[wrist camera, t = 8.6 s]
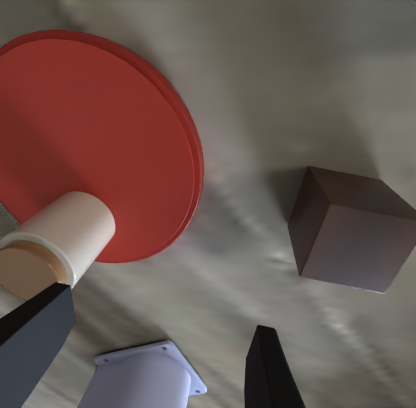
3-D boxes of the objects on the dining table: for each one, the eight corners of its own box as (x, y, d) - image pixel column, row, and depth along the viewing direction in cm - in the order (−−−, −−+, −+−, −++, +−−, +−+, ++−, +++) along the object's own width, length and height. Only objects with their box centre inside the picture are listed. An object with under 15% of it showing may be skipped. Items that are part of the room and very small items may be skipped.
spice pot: (80, 252, 20) (24, 315, 15) (41, 204, 19) (-35, 256, 14) (127, 235, 19) (84, 297, 14) (90, 181, 17) (25, 228, 12)
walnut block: (286, 226, 18) (299, 276, 14) (308, 165, 16) (329, 202, 12) (351, 239, 18) (384, 294, 14) (381, 179, 16) (431, 222, 12)
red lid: (223, 57, 14) (221, 57, 13) (189, 270, 21) (185, 283, 20) (-71, 5, 15) (-100, 0, 14) (-11, 228, 22) (-26, 237, 21)
